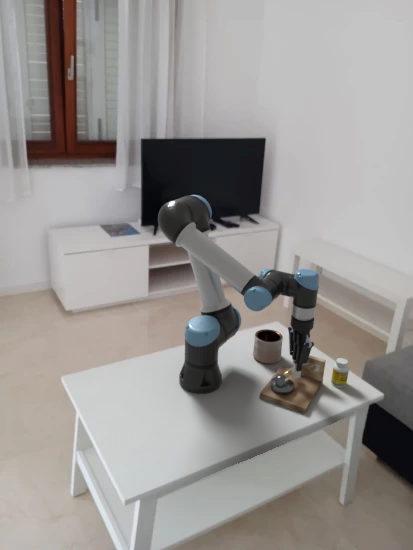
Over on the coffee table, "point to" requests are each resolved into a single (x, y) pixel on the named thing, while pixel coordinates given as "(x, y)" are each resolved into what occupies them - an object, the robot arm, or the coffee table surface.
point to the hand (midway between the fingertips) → (295, 377)
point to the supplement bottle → (340, 373)
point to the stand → (299, 386)
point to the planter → (267, 346)
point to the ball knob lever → (282, 383)
